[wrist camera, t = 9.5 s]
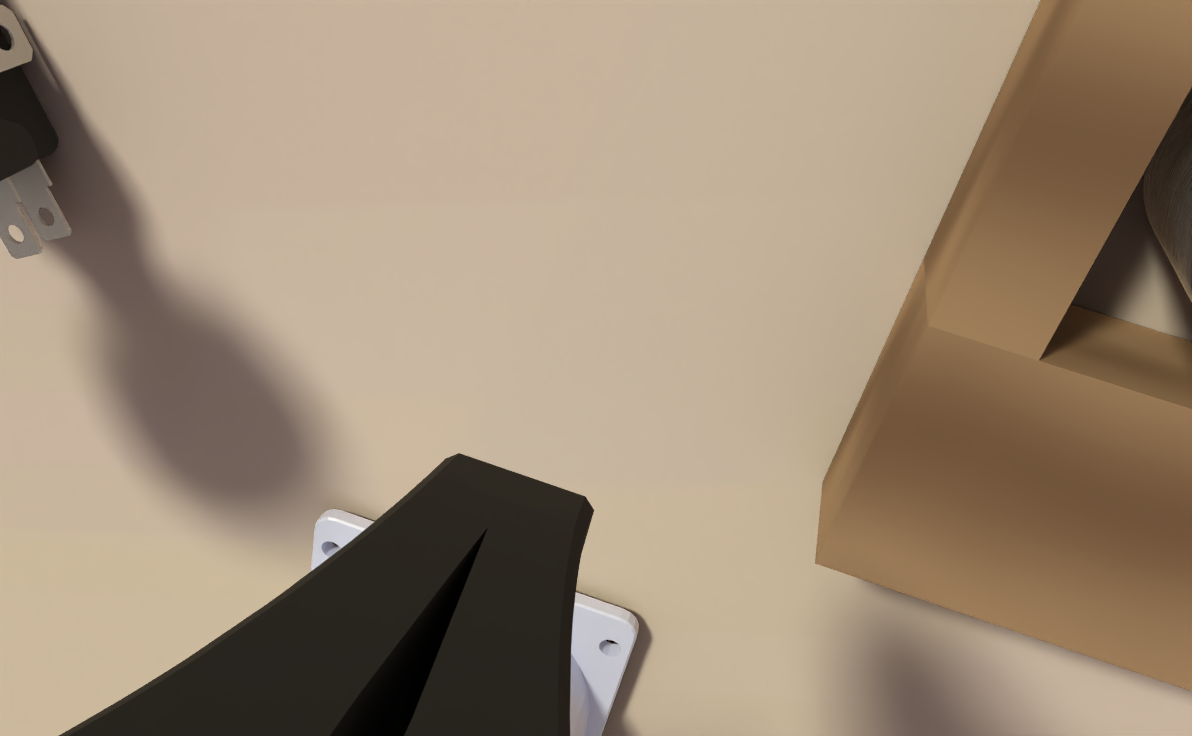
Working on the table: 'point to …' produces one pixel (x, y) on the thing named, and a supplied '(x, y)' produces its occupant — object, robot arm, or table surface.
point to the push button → (23, 149)
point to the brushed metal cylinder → (1173, 193)
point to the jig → (1037, 371)
